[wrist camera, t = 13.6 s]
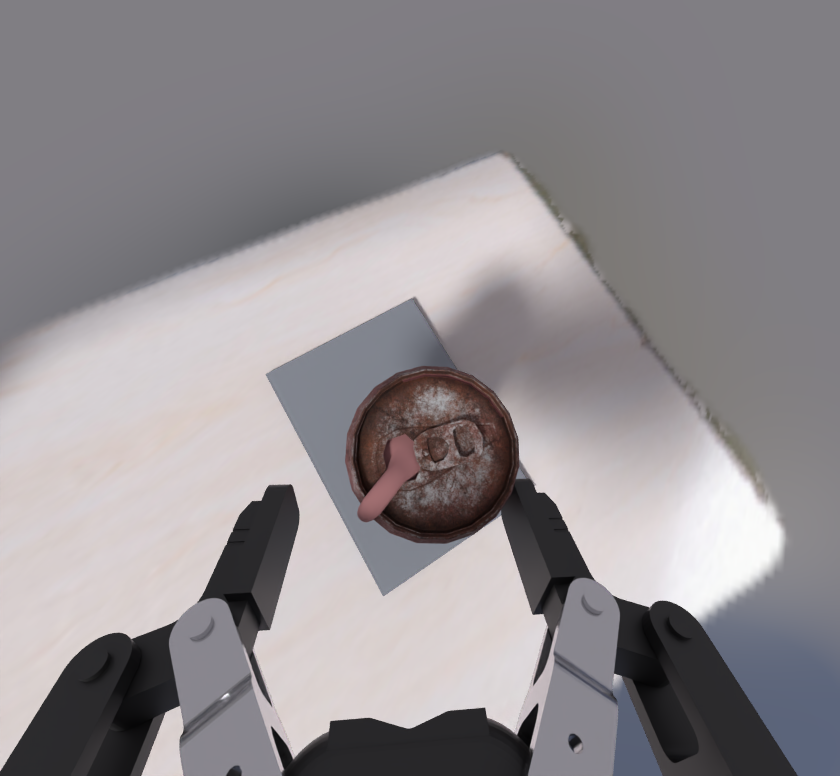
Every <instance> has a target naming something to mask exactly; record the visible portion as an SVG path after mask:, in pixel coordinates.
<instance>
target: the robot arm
mask: <svg viewBox="0 0 840 776" xmlns="http://www.w3.org/2000/svg"><path fill="white" fill-rule="evenodd" d="M501 515H502V520H503V524H504V527H505V530H506V533H507V536H508V539H509V542H510V545H511V549H512V552H513V555H514V558H515V561H516V564H517V567H518V570H519V573H520V577H521V580H522V583H523V586H524V589H525V592H526V595H527V598H528V601H529V605H530V608H531V611H532V614H533V615H535V614H544V617H545V620H546V623H547V626H546V629H545V633H544V636H543V640H542V644H541V647H540V651H539V655H538V658H537V662H536V665H535V669H534V673H533V676H532V680H531V684H530V687H529V690H528V693H527V695H526V698H525V700H524V703H523V706H522V708H521V712H520V715H519V718H518V722H517V725H516V729H515V732H514V733H513V732H512V731H511V730H510V729H508V728H507V727H505V726H504V725H502V724H500V723H498V722H496V721H494V720H492V719H489V718H487V716H486V710H485V708H477V709H466V710H454V711H447V712H445V713H443V714H441V715H439V716H437V717H435V718H433V719H430V720H428V721H426V722H424V723H422V724H420V725H418V726H416V727H414V728H410V729H407V728H403V727H399V726H396V725H393V724H389V723H386V722H382V721H379V720H375V719H372V718H361V719H349V720H338V721H330V729H329V732H327V733H325V734H323V735H321V736H320V737H318V738H317V739H315V740H313V741H312V742H311V743H310V744H309V745H307V746H306V747H305V748H304V749H303V750H302V751H301V752H300V753H299V754H298V755H297V756H296V757H295V756H294V753H293V750H292V748H291V745H290V742H289V739H288V737H287V734H286V732H285V729H284V727H283V724H282V722H281V720H280V718H279V716H278V713H277V711H276V709H275V706H274V703H273V701H272V698H271V695H270V692H269V690H268V687H267V684H266V681H265V678H264V676H263V673H262V670H261V667H260V665H259V662H258V659H257V656H256V653H255V651H254V648H253V647H254V643H255V640H256V637H257V633H258V631H260V630H270V628H271V624H272V620H273V617H274V613H275V610H276V606H277V602H278V599H279V595H280V591H281V588H282V584H283V581H284V577H285V573H286V570H287V566H288V562H289V559H290V555H291V552H292V548H293V544H294V541H295V537H296V533H297V530H298V525H299V508H298V505H297V501H296V497H295V493H294V489H293V486H292V485H291V484H290V485H269V486H268V487H267V489H266V491H265V493H264V496H263V498H262V501H252V502H251V503H250V504H249V505H248V506H247V507H246V508H245V509H244V511H243V512H242V513H241V514H240V515H239V517H238V520H237V522H236V524H235V526H234V528H233V532H232V533H231V535H230V537H229V539H228V541H227V545H226V546H225V548H224V550H223V552H222V554H221V556H220V559H219V561H218V563H217V565H216V567H215V569H214V572H213V574H212V576H211V578H210V580H209V583H208V585H207V587H206V589H205V591H204V593H203V595H202V597H201V598H200V600H199V601H198V602H197V604H195V605H194V606H192V607H191V608H189V609H188V610H187V611H186V612H185V613H184V614H183V615H182V616H181V617H180V618H179V620H177V621H175V622H173V623H172V624H169V625H167V626H165V627H162V628H159V629H157V630H154V631H152V632H149V633H146V634H144V635H141V636H138V637H136V638H133V639H131V638H130V637H128V636H127V635H126V634H123V633H112V634H108V635H105V636H103V637H101V638H98V639H97V640H95V641H93V642H92V643H90V644H89V645H87V646H86V647H85V648H83V649H82V650H81V651H80V652H79V653H78V654H77V655H76V656H75V657H74V658H73V659H72V660H71V661H70V662H69V664H68V665H67V666H66V668H65V669H64V671H63V672H62V674H61V675H60V677H59V678H58V680H57V682H56V683H55V685H54V686H53V688H52V690H51V691H50V693H49V694H48V696H47V698H46V699H45V701H44V702H43V704H42V706H41V707H40V709H39V710H38V712H37V714H36V715H35V717H34V718H33V720H32V722H31V723H30V725H29V726H28V728H27V730H26V731H25V733H24V734H23V736H22V738H21V739H20V741H19V742H18V744H17V746H16V747H15V749H14V750H13V752H12V754H11V755H10V757H9V758H8V760H7V762H6V763H5V765H4V766H3V768H2V770H1V771H0V776H141V775H142V772H143V770H144V767H145V765H146V762H147V759H148V757H149V754H150V751H151V749H152V746H153V744H154V741H155V738H156V736H157V733H158V731H159V728H160V725H161V723H162V720H163V718H164V715H165V712H167V711H169V710H171V709H174V708H176V707H178V706H180V708H181V713H182V718H183V725H184V731H183V734H182V735H181V737H180V744H179V745H180V757H181V763H182V769H183V775H184V776H613V765H614V755H615V744H616V733H617V721H618V703H617V700H616V698H615V697H614V696H613V691H612V687H613V677H614V674H617V675H620V676H622V678H623V681H624V683H625V685H626V688H627V690H628V693H629V695H630V697H631V700H632V702H633V705H634V707H635V709H636V712H637V714H638V717H639V719H640V722H641V724H642V726H643V729H644V731H645V734H646V736H647V738H648V741H649V743H650V746H651V748H652V750H653V753H654V755H655V758H656V760H657V762H658V765H659V767H660V770H661V772H662V775H663V776H797V774H796V772H795V771H794V769H793V768H792V767H791V765H790V763H789V762H788V760H787V758H786V757H785V755H784V754H783V752H782V751H781V749H780V748H779V746H778V744H777V743H776V741H775V740H774V738H773V737H772V735H771V733H770V732H769V730H768V729H767V727H766V726H765V724H764V723H763V721H762V720H761V718H760V716H759V715H758V713H757V712H756V710H755V709H754V707H753V705H752V704H751V703H750V701H749V699H748V698H747V696H746V695H745V693H744V691H743V690H742V688H741V687H740V685H739V684H738V682H737V680H736V679H735V677H734V676H733V674H732V673H731V671H730V670H729V668H728V666H727V665H726V663H725V662H724V660H723V659H722V657H721V656H720V654H719V652H718V651H717V649H716V648H715V646H714V645H713V643H712V641H711V640H710V638H709V637H708V635H707V634H706V632H705V631H704V629H703V628H702V626H701V625H700V623H699V622H698V621H697V620H696V619H695V618H694V617H693V616H692V615H691V614H690V613H689V612H688V611H686V610H685V609H683V608H682V607H680V606H678V605H677V604H674V603H672V602H668V601H658V602H655V603H654V604H653V605H652V606H651V607H650V608H649V607H646V606H643V605H639V604H636V603H632V602H629V601H626V600H622V599H619V598H617V597H615V596H613V595H612V594H611V593H610V592H609V591H608V590H607V589H606V588H605V587H604V586H602V585H601V584H599V583H598V582H596V581H595V580H594V578H593V577H592V575H591V573H590V572H589V570H588V568H587V566H586V564H585V562H584V560H583V558H582V556H581V554H580V552H579V550H578V548H577V546H576V544H575V542H574V540H573V538H572V536H571V534H570V532H569V531H568V528H567V526H566V524H565V522H564V520H562V516H561V514H560V512H559V510H558V508H557V506H556V504H555V503H554V502H553V501H552V500H551V499H550V498H549V497H548V496H547V495H546V494H545V493H537V492H536V490H535V488H534V485H533V483H532V481H531V480H530V479H528V478H526V479H516V480H515V484H514V487H513V491H512V494H511V495H510V497H509V498H508V500H507V501H506V503H505V504H504V506H503V507H502V509H501Z"/></svg>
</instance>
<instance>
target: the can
mask: <svg viewBox="0 0 840 776" xmlns="http://www.w3.org/2000/svg"><path fill="white" fill-rule="evenodd" d="M345 464H346V468H347V472H348V476H349V480H350V484H351V488H352V491H353V493H354V494H355V496H356V497H357V499H358V501H359V502H360V506H359V508H358V511H357V515H358V518H359V519H360V520H361V521H363V522H370V521H372V520H374V521H376V522H377V523H378V524H379V525H381V526H382V527H383V528H384V529H385V530H387V531H388V532H389V533H391V534H393V535H396V536H399V537H402V538H404V539H407V540H410V541H412V542H415V543H431V544H447V543H450V542H453V541H456V540H459V539H462V538H465V537H468V536H471V535H474V534H475V533H476V532H477V531H479V530H480V529H481V528H483V527H484V526H485V525H487V524H488V523H489V522H490V521H492V520H493V519H494V518H496V517H497V515H498V513H499V512H500V510H501V509H502V507H503V506H504V504H505V503H506V501H507V500H508V498H509V497H510V495H511V494H512V491H513V487H514V484H515V480H516V477H517V473H518V469H519V443H518V436H517V433H516V431H515V428H514V425H513V422H512V419H511V416H510V413H509V412H508V410H507V409H506V408H505V406H504V405H503V404H502V402H501V401H500V400H499V398H498V397H497V395H496V394H495V393H494V391H492V390H491V389H490V388H488V387H487V386H486V385H484V384H483V383H482V382H480V381H479V380H478V379H476V378H475V377H474V376H472V375H469V374H466V373H464V372H461V371H458V370H455V369H452V368H450V367H438V366H420V367H416V368H412V369H409V370H405V371H401V372H398V373H396V374H394V375H393V376H391V377H389V378H388V379H386V380H385V381H383V382H382V383H380V384H379V385H377V386H375V387H374V388H373V390H372V391H371V392H370V393H369V394H368V396H367V397H366V398H365V399H364V400H363V402H362V403H361V404H360V405H359V407H358V408H357V410H356V413H355V415H354V418H353V420H352V423H351V425H350V428H349V430H348V432H347V441H346V455H345Z"/></svg>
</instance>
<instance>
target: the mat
mask: <svg viewBox="0 0 840 776" xmlns="http://www.w3.org/2000/svg"><path fill="white" fill-rule="evenodd" d="M420 366H438V367H450V368H452V369H455V370H457V368H456V367H455V365H454V364H453V362H452V361H451V359H450V357H449V356H448V354H447V353H446V351H445V350H444V348H443V346H442V345H441V343H440V342H439V340H438V338H437V337H436V335H435V334H434V332H433V331H432V329H431V327H430V326H429V324H428V323H427V321H426V320H425V318H424V316H423V315H422V313H421V312H420V310H419V309H418V307H417V305H416V304H415V302H414V301H413V299H410V300H408V301H406V302H405V303H403V304H401V305H399V306H397V307H395V308H393V309H391V310H389V311H387V312H385V313H383V314H381V315H379V316H377V317H376V318H374V319H372V320H370V321H368V322H366V323H364V324H362V325H360V326H358V327H356V328H354V329H352V330H350V331H348V332H346V333H345V334H343V335H341V336H339V337H337V338H335V339H333V340H331V341H329V342H327V343H325V344H323V345H321V346H319V347H317V348H315V349H314V350H312V351H310V352H308V353H306V354H304V355H302V356H300V357H298V358H296V359H294V360H292V361H290V362H288V363H286V364H284V365H283V366H281V367H279V368H277V369H275V370H273V371H271V372H269V373H267V374H266V376H267V378H268V380H269V382H270V384H271V385H272V387H273V389H274V391H275V393H276V395H277V397H278V399H279V401H280V402H281V404H282V406H283V408H284V410H285V412H286V414H287V416H288V418H289V419H290V421H291V423H292V425H293V427H294V429H295V431H296V433H297V435H298V436H299V438H300V440H301V442H302V444H303V446H304V448H305V450H306V452H307V453H308V455H309V457H310V459H311V461H312V463H313V465H314V467H315V468H316V470H317V472H318V474H319V476H320V478H321V480H322V482H323V484H324V485H325V487H326V489H327V491H328V493H329V495H330V497H331V499H332V501H333V502H334V504H335V506H336V508H337V510H338V512H339V514H340V516H341V518H342V519H343V521H344V523H345V525H346V527H347V529H348V531H349V533H350V535H351V536H352V538H353V540H354V542H355V544H356V546H357V548H358V550H359V552H360V553H361V555H362V557H363V559H364V561H365V563H366V565H367V567H368V569H369V570H370V572H371V574H372V576H373V578H374V580H375V582H376V584H377V585H378V587H379V589H380V591H381V593H382V595H383V596H385V595H386V594H388V593H389V592H390V591H392V590H393V589H395V588H396V587H398V586H399V585H401V584H402V583H403V582H405V581H406V580H408V579H409V578H411V577H412V576H414V575H415V574H417V573H418V572H419V571H421V570H422V569H424V568H425V567H427V566H428V565H430V564H431V563H433V562H434V561H435V560H437V559H438V558H440V557H441V556H443V555H444V554H446V553H447V552H448V551H450V550H451V549H453V548H454V547H456V546H457V545H459V544H460V543H462V542H463V541H464V540H466V539H467V538H469V537H470V536H468V537H465V538H462V539H459V540H456V541H453V542H450V543H447V544H431V543H415V542H412V541H410V540H407V539H404V538H402V537H399V536H396V535H393V534H391V533H389V532H388V531H387V530H385V529H384V528H383V527H382V526H381V525H379V524H378V523H377V522H376V521H374V520H372V521H370V522H363V521H361V520H360V519H359V518H358V515H357V511H358V508H359V506H360V502H359V501H358V499H357V497H356V496H355V494H354V493H353V491H352V488H351V484H350V480H349V476H348V472H347V468H346V464H345V455H346V441H347V432H348V430H349V428H350V425H351V423H352V420H353V418H354V415H355V413H356V410H357V408H358V407H359V405H360V404H361V403H362V402H363V400H364V399H365V398H366V397H367V396H368V394H369V393H370V392H371V391H372V390H373V388H374V387H375V386H377V385H379V384H380V383H382V382H383V381H385V380H386V379H388V378H389V377H391V376H393V375H394V374H396V373H398V372H401V371H405V370H409V369H412V368H416V367H420ZM516 479H526V477H525V475H524V474H523V472H522V471H521V469H520V468H519V469H518V473H517V477H516ZM499 516H501V510H500V512H499V513H498V515H497V517H496V518H498V517H499ZM496 518H494V519H493V520H495V519H496ZM493 520H492V521H493ZM492 521H490V522H489V523H491V522H492ZM489 523H488V524H489ZM488 524H487V525H488ZM485 526H486V525H485ZM485 526H484V527H485ZM481 529H482V528H481ZM477 532H478V531H477ZM471 536H472V535H471Z"/></svg>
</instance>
